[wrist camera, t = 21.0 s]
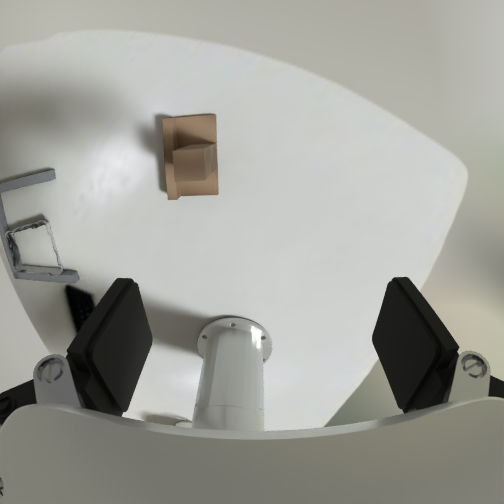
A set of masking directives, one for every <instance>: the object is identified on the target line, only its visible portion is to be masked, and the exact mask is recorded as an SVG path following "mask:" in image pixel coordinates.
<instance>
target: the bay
mask: <svg viewBox="0 0 504 504" xmlns="http://www.w3.org/2000/svg"><path fill="white" fill-rule="evenodd" d="M53 179H56V177H55V170H54V169H53V170H48V171H44V172H40V173H36V174H32V175H28V176H24V177H21V178H17V179H13V180H10V181H7V182H3V183H0V193H1V192H4V191H8V190H12V189H16V188H20V187H24V186H29V185H33V184H38V183H42V182H47V181H51V180H53ZM8 231H9V230H8V226H7V222H6V218H5V214H4V209H3V205H2V200H1V194H0V235H1V239H2V242H3V246H4V249H5V252H6V255H7V258H8V261H9V264H10V267H11V270H12V272H13V275H14V278H16V279H26V280H37V281H49V282H62V283H76V282H77V281H78V280H79V276H78V273H77V271H62V273H61V274H60V275H58V276H56V277H55V276H54V277H52V276H49V275H45V274H42V275H39V274H36V273H26V272H25V271H26V270H22V271H15V270H14V267H13V265H12V253H11V251H10V249H9V245H8V242H7V240H6V237H5V234H6V232H8Z"/></svg>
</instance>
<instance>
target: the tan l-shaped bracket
mask: <svg viewBox="0 0 504 504" xmlns="http://www.w3.org/2000/svg"><path fill="white" fill-rule="evenodd" d="M162 123H163V143H164V159H165V172H166V184H167V195H168V200H177V199H178V198H179V197H180V196H197V195H218V194H219V190H218V164H217V131H216V115H201V116H189V117H178V118H165V119H162Z"/></svg>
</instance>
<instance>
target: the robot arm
mask: <svg viewBox="0 0 504 504" xmlns="http://www.w3.org/2000/svg"><path fill="white" fill-rule="evenodd" d="M372 342H373V345H374V347H375V350H376V352H377V354H378V357H379V359H380V362H381V364H382V366H383V369H384V371H385V374H386V376H387V379H388V381H389V384H390V387H391V389H392V392H393V394H394V397H395V400H396V402H397V405H398V407H399V408H400V409H402V410H403V412H404V414H401V415H397V416H392V417H387V418H382V419H377V420H373V421H367V422H361V423H356V424H348V425H341V426H333V427H324V428H314V429H301V430H283V431H264V380H263V364H264V363H265V362H266V361H267V360H268V359H269V357H270V355H271V352H272V341H271V338H270V336H269V334H268V333H267V331H266V330H265V329H264V328H262V327H261V326H260V325H258V324H256V323H254V322H252V321H249V320H246V319H241V318H223V319H219V320H216V321H213V322H211V323H209V324H208V325H206V326H205V327H204V328H203V329H202V331H201V332H200V334H199V338H198V344H197V346H198V350H199V352H200V355H201V356H202V357H203V358H204V360H203V365H202V370H201V375H200V381H199V386H198V391H197V397H196V402H195V408H194V414H193V420H192V428H189V427H180V426H172V425H165V424H158V423H152V422H146V421H141V420H135V419H130V418H124V417H122V414H123V412H126V411H127V410H128V407H129V405H130V402H131V399H132V396H133V393H134V390H135V388H136V385H137V382H138V380H139V377H140V374H141V371H142V369H143V366H144V364H145V361H146V358H147V356H148V353H149V351H150V348H151V346H152V334H151V331H150V327H149V324H148V320H147V317H146V313H145V310H144V306H143V302H142V299H141V295H140V291H139V287H138V284H137V283H136V282H134V281H133V279H131V278H117V279H116V280H115V282H114V283H113V284H112V285H111V287H110V288H109V290H108V291H107V292H106V294H105V295H104V296H103V298H102V299H101V300H100V302H99V303H98V305H97V306H96V307H95V309H94V310H93V312H92V313H91V315H90V316H89V317H88V319H87V320H86V322H85V323H84V325H83V326H82V328H81V329H80V331H79V332H78V334H77V335H76V337H75V338H74V340H73V341H72V343H71V344H70V346H69V348H68V349H67V353H68V355H67V356H66V358H65V357H64V356H61V355H56V354H53V355H49V356H47V357H45V358H43V359H42V360H40V361H39V362H38V364H37V365H36V366H35V369H34V373H33V374H34V375H33V378H34V379H32V380H30V381H28V382H26V383H23V384H21V385H18V386H16V387H14V388H11V389H9V390H7V391H5V392H2V393H1V394H0V504H504V381H502V380H499V379H497V378H495V377H493V376H491V375H490V366H489V364H488V362H487V360H486V359H485V358H484V357H483V356H482V355H481V354H479V353H477V352H473V351H465V352H463V353H461V354H460V355H459V354H458V352H457V351H458V349H459V346H458V344H457V343H456V341H455V340H454V338H453V337H452V336H451V334H450V333H449V331H448V330H447V328H446V327H445V325H444V324H443V323H442V321H441V320H440V318H439V317H438V316H437V314H436V313H435V311H434V310H433V309H432V307H431V306H430V305H429V304H428V302H427V301H426V300H425V298H424V297H423V296H422V294H421V293H420V292H419V290H418V289H417V288H416V287H415V285H414V284H413V283H412V282H411V280H410V279H409V278H408V277H394V278H393V279H392V281H390V282H389V283H388V285H387V288H386V292H385V296H384V299H383V303H382V306H381V310H380V313H379V316H378V319H377V323H376V326H375V329H374V332H373V335H372Z"/></svg>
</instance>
